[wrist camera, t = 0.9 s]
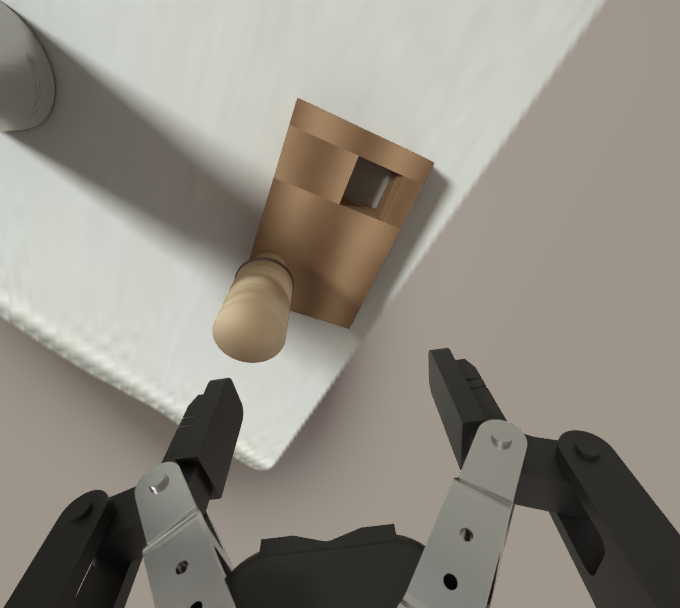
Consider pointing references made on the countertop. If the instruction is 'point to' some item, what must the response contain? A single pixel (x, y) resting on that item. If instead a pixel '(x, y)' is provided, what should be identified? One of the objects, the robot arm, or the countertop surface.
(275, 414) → the countertop surface
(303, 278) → the board
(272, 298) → the peg
